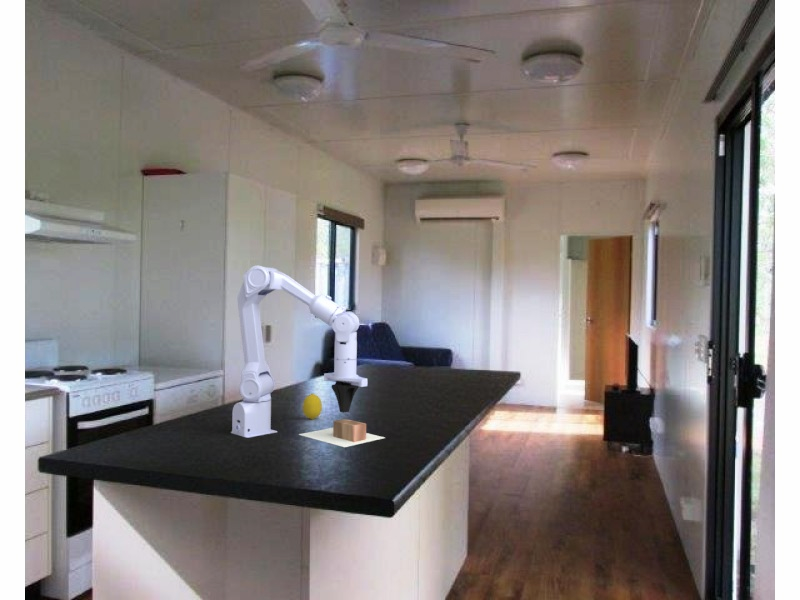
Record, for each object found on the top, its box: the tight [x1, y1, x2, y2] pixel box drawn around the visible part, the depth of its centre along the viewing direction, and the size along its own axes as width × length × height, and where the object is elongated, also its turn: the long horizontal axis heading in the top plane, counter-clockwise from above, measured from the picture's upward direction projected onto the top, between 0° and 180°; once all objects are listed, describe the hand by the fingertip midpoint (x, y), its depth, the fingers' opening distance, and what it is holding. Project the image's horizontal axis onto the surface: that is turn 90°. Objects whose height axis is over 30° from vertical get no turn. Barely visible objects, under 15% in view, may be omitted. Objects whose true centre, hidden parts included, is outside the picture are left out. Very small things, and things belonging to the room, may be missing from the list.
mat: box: [298, 427, 386, 448], centre depth 148 cm, size 14×18×1 cm
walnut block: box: [332, 418, 367, 442], centre depth 146 cm, size 4×4×8 cm
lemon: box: [302, 392, 323, 420], centre depth 169 cm, size 6×6×8 cm
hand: (344, 411), depth 148 cm, fingers closed
